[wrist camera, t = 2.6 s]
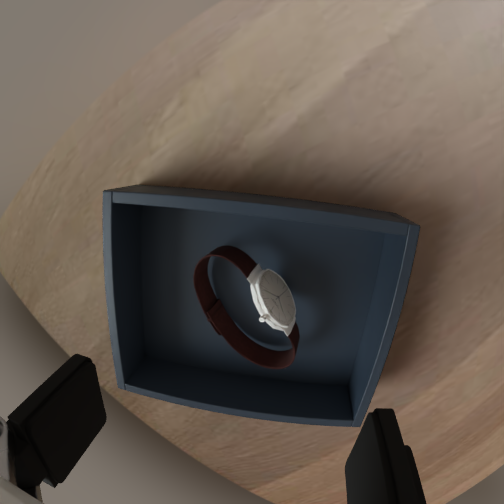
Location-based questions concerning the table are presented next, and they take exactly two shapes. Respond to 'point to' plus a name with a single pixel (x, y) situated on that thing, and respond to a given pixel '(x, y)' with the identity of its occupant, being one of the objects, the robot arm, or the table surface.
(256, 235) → the tray
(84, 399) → the robot arm
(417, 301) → the table surface
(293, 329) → the watch
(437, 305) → the table surface
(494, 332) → the table surface
